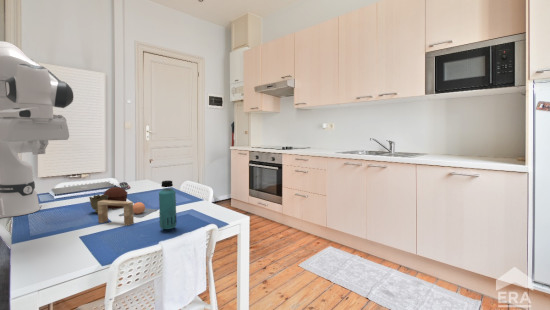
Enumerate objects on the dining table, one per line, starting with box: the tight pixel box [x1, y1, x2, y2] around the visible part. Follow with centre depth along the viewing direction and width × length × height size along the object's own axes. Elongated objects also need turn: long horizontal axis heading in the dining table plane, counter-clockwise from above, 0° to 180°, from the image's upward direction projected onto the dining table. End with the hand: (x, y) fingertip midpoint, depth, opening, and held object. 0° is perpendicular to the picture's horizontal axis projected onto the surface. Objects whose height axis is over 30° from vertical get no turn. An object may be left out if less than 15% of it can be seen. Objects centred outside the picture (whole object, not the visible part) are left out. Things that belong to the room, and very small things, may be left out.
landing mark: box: [118, 207, 159, 218], centre depth 127 cm, size 12×12×1 cm
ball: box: [133, 201, 146, 214], centre depth 125 cm, size 6×6×6 cm
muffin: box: [102, 186, 128, 210], centre depth 135 cm, size 12×11×10 cm
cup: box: [89, 194, 108, 214], centre depth 126 cm, size 8×7×8 cm
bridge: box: [97, 200, 135, 226], centre depth 112 cm, size 3×14×9 cm, turn 80°
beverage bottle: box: [158, 180, 178, 230], centre depth 105 cm, size 6×7×20 cm
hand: (39, 154), depth 90 cm, fingers closed
